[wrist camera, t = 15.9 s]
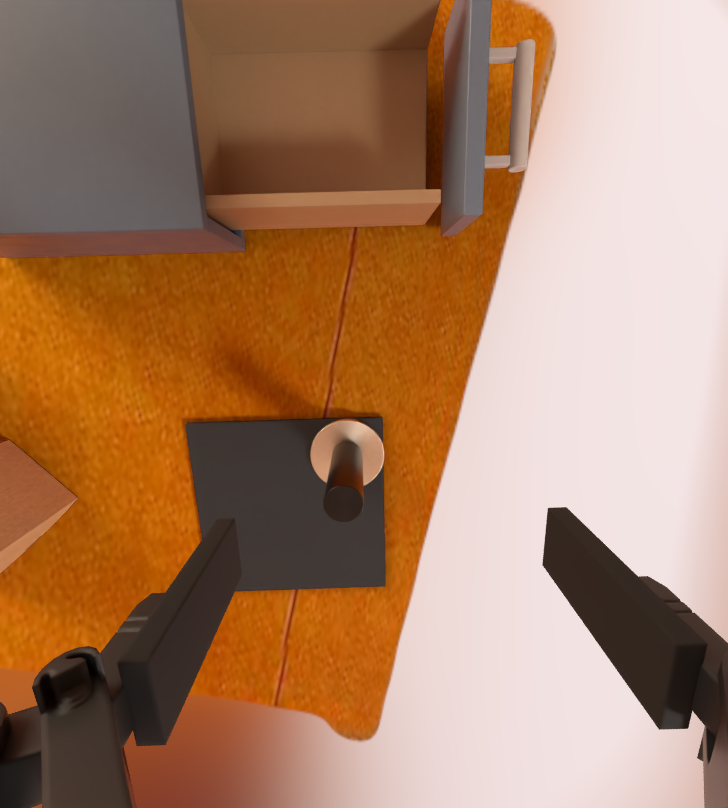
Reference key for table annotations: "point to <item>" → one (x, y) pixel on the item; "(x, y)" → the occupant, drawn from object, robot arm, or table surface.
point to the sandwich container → (26, 502)
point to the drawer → (344, 111)
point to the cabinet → (100, 132)
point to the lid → (346, 465)
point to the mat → (284, 505)
